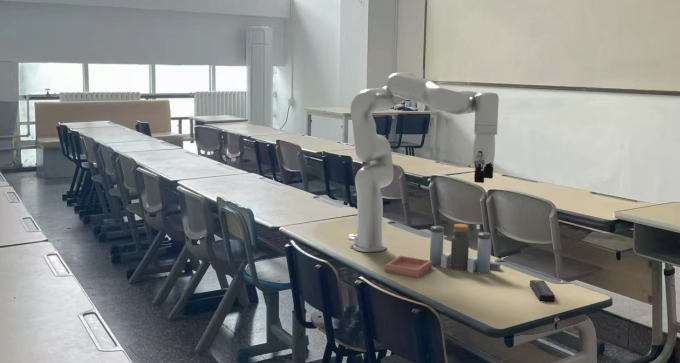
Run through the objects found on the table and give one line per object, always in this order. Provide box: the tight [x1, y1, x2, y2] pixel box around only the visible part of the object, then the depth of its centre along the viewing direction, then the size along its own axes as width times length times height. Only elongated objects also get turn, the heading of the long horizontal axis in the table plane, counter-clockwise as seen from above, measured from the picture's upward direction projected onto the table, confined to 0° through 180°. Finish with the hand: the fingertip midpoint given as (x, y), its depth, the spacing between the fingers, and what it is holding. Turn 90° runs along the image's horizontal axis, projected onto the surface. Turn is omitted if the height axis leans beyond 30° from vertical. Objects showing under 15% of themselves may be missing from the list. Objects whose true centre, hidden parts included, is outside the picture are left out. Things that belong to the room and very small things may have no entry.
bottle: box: [450, 223, 470, 271], centre depth 233 cm, size 6×6×15 cm
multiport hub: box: [529, 279, 556, 303], centre depth 209 cm, size 4×14×2 cm, turn 177°
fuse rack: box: [429, 225, 501, 274], centre depth 235 cm, size 25×8×13 cm, turn 60°
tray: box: [384, 255, 433, 278], centre depth 232 cm, size 12×12×2 cm
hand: (483, 180), depth 230 cm, fingers open, 9 cm apart
